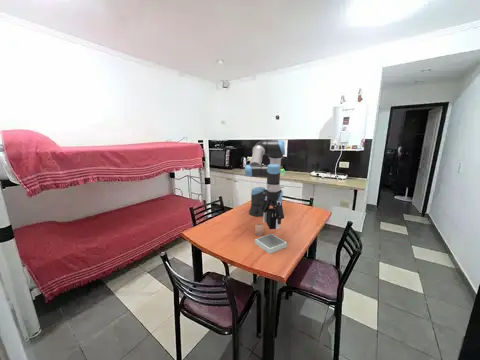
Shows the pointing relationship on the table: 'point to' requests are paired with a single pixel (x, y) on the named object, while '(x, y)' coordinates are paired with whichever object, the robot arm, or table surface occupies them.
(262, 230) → the pale pink rounded piece
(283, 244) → the stand
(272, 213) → the electronic device
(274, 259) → the table surface
